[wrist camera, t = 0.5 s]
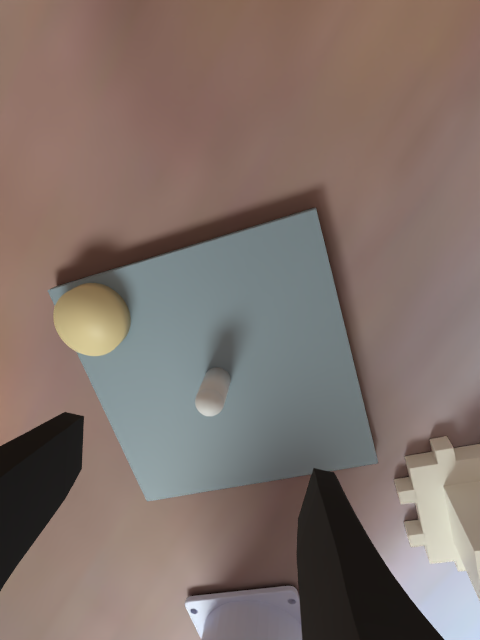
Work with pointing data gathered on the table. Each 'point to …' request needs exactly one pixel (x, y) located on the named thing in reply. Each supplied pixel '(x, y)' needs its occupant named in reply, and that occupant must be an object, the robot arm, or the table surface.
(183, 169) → the table surface
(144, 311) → the carrier plate
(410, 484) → the gear
